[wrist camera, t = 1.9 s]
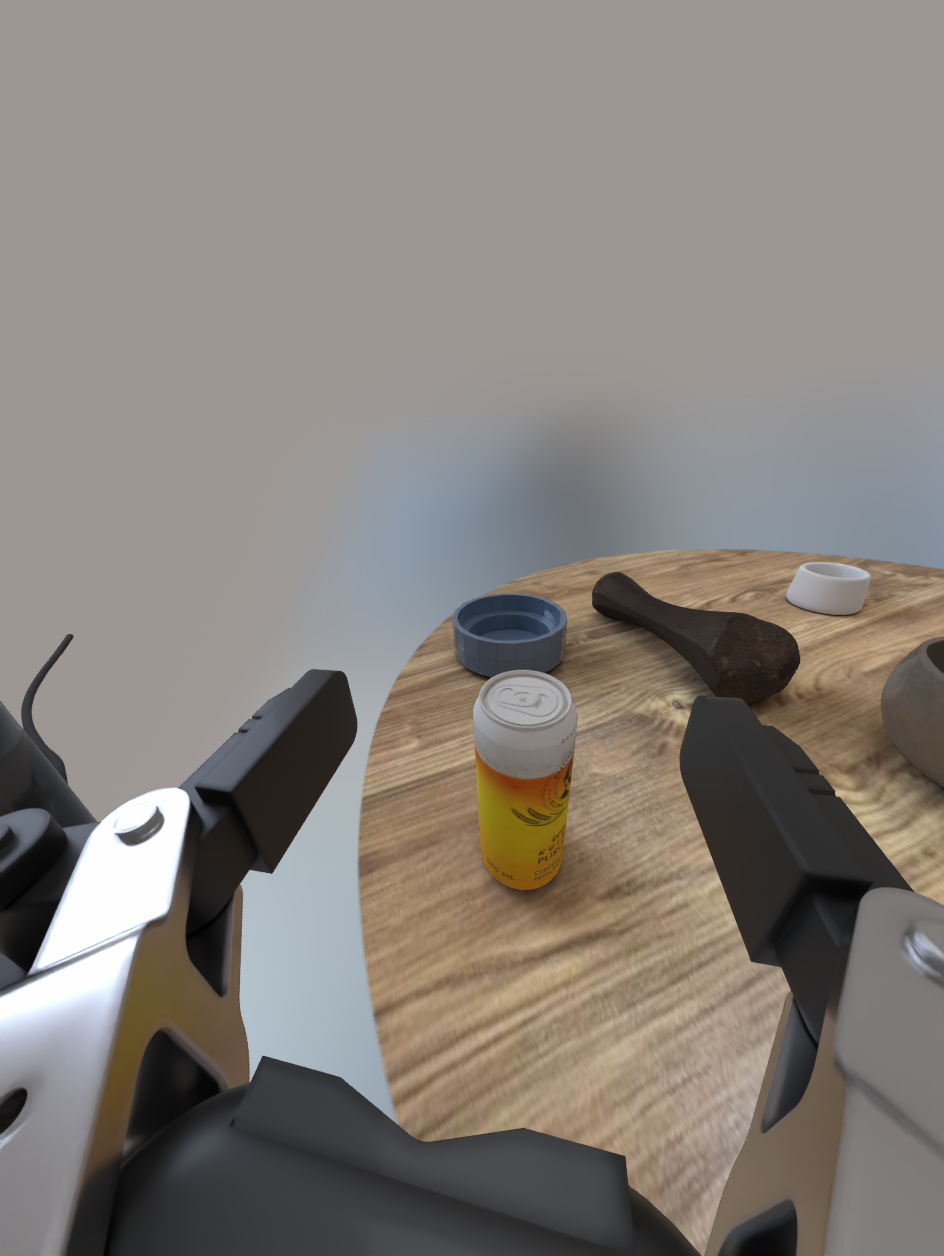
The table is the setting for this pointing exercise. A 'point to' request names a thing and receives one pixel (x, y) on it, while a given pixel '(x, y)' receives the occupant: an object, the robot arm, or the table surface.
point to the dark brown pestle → (708, 639)
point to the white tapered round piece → (829, 588)
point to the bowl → (918, 708)
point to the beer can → (523, 774)
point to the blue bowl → (509, 633)
